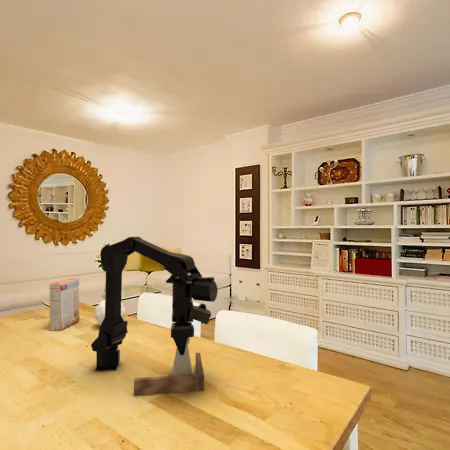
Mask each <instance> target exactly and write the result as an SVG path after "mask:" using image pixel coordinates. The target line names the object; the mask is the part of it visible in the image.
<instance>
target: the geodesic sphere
mask: <svg viewBox="0 0 450 450" xmlns="http://www.w3.org/2000/svg"><path fill="white" fill-rule="evenodd" d="M126 310H127V309H126V307H125V304H124V303H123V302H122V301H121V317H122V318H123V320H124V319H125V317H126ZM104 317H105V299H103V300H102V301H100V302H99V303H98V305H97V306H96V308H95V309H94V319H95V320H96V322H97V324H98V325H99V326H100V325H101V323H102V321H103V319H104Z"/></svg>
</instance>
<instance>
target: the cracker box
mask: <svg viewBox="0 0 450 450" xmlns="http://www.w3.org/2000/svg"><path fill="white" fill-rule="evenodd" d="M48 285H49V287H48V288H49V330H50V329H53V330H52V331H58V330H62V329H63V330H65V329H67V328H69V327H71V326H73V325H75V324H77V323H79V322H80V278H68V279H67V278H66V279H63V280H58V281H56V282H52V283H49V284H48ZM78 321H79V322H78ZM76 322H77V323H76ZM74 323H75V324H74ZM72 324H73V325H72ZM70 325H71V326H70ZM68 326H69V327H68ZM66 327H67V328H66ZM64 328H65V329H64ZM63 330H62V331H63Z"/></svg>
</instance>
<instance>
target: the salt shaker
mask: <svg viewBox="0 0 450 450" xmlns="http://www.w3.org/2000/svg"><path fill="white" fill-rule="evenodd" d="M190 338H191V337H189V338H188V339H187V344H186V348H185V353H184V355H180V353H179V351H178V349H177V348H175V349H176V350H175V355H174V360H173V366H172V370H171V374H172V375H173V376H176V375H191V373H193V370H192V369H193V368H192V364H191V357H190V351H189V344H190V343H191V342H190V341H191V339H190Z"/></svg>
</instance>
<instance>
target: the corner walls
mask: <svg viewBox="0 0 450 450" xmlns="http://www.w3.org/2000/svg"><path fill="white" fill-rule="evenodd" d="M195 373H196V374H191V375H176V376H167V375H166V376H165V375H163V376H162V375H161V376H149V377H136V378H134V379H133V396H134V397H135V396H136V397H137V396H149V395H150V396H151V395H162V394H163V395H164V394H173V393H174V394H176V393H188V392H189V393H190V392H201V391H202V392H203V391H205V373H204V367H203V360H202V356H201V352H195Z"/></svg>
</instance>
